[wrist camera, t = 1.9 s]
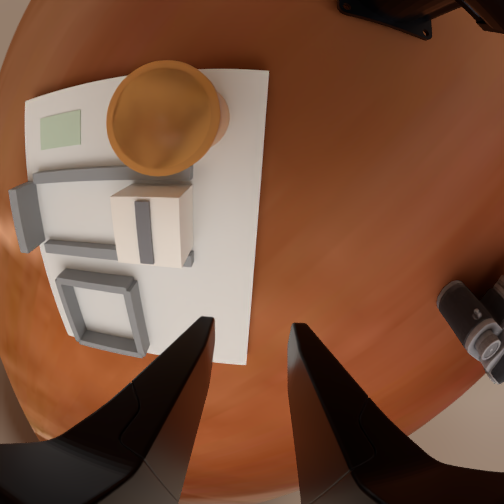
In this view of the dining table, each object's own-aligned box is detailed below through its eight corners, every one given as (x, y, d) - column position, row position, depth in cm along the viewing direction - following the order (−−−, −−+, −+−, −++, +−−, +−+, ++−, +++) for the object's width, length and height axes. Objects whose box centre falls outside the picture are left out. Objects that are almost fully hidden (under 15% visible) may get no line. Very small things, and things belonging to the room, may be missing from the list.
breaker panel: (268, 74, 14) (270, 62, 11) (246, 355, 24) (244, 386, 21) (34, 100, 14) (4, 103, 11) (73, 327, 24) (57, 350, 21)
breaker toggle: (192, 184, 16) (178, 199, 13) (193, 245, 18) (180, 270, 15) (132, 183, 16) (108, 197, 13) (136, 241, 18) (116, 263, 15)
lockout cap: (237, 80, 13) (223, 57, 8) (232, 157, 16) (216, 178, 10) (159, 82, 13) (108, 68, 8) (156, 156, 16) (107, 177, 10)
